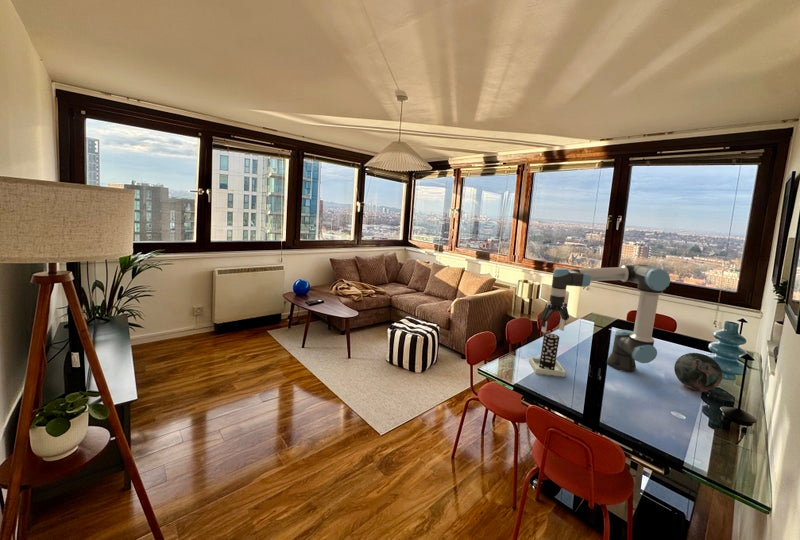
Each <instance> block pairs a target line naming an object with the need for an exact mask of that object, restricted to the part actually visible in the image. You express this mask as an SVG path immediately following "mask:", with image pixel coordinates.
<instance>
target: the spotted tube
mask: <svg viewBox="0 0 800 540" xmlns="http://www.w3.org/2000/svg"><path fill="white" fill-rule="evenodd" d="M559 343H560V336H559V335H558V334H554V333H551V332H550V333H549V332H546V333H544V334H543V338H542V344H541V350H540V351H541V352H540V357H539V358H540V364H539V367H540V368H541V369H549V370H554V369H555V363H556V360H557V355H558V349H559Z"/></svg>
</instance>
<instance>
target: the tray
mask: <svg viewBox="0 0 800 540" xmlns="http://www.w3.org/2000/svg"><path fill="white" fill-rule="evenodd" d="M528 362H529V365H530V366H531V368H532V369H533V371H534V373H535V374H536V375H543V374H546V375H545V376H551V375H554V376H553V377H559V376H562V378H566V373H567V372H566V370H565V369H564V368H563V366H562V365H561V363H560V362H559V360H557V359H556V363H555V369H554V370H549V369H541V368H540V367H539V364H540V357H532V356H529V359H528Z"/></svg>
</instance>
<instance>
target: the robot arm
mask: <svg viewBox="0 0 800 540" xmlns="http://www.w3.org/2000/svg"><path fill="white" fill-rule="evenodd" d="M596 281H597V282H601V281H602V282H603V281H604V282H605V281H621V282H624V283H625V282H627V283H629V282H630V283H634V284H637V289H636V290H637V291H638V293H639V297H638V303H637V308H636V310H637V311H636V315H635V321H634V322H635V323H634V326H633V327H634V328H633V330H628V329H617V330H616V331H615V334H614V339H613V345H612V351H611V353H610V354H609V356H608V357H607V359H606V365H608V366H609V367H611V368H612V369H615V370H617V371H622V372H626V373H632V372H636V370H637V369H636V368H637V366H636V362H638V363H639V364H640V363H641V364H648V363H651V362H652V361H654V360H655V359H656V358H657V355H658V351H657V349H656V347H655V346H654V344H655V339H654V338H653V330H654V324H655V321H656V320H655V319H656V314H657V308H658V302H659V296H660V295H662V294H663V293H664V290H666V289H667V288H668V287H669V286H670V283H671V277H670V274H669V273H668V272H667V271H666V270H665V269H662V268H660V267H656V266H651V265H648V264H643V263H642V264H628V265H626V264H624V265H621V266H620V267H618V266H617V267H593V268H592V267H591V268H590V267H589V268H588V267H587V268H570V267H555V268H554V269H553V273H552V282H551V290H550V296H549V301H550V304H549V303H545V305H544V309H543V310H542V312H541V314H540V317H539V318H538V319H539V320H540V321H541V332H542V333H544V334H545V333H547V327H548V319H549V318H550V317H552V314H554V313H555V312H558V314H559V316H560V317H561V318H560V320H559V326H558V327H559V328H558V330H560V331H562V332H564V331H565V325H566V322H567V321H568V320H569V319H570V315H569V311H568V303H566V302H565V300H566V299H565V298H566V297H565V296H566V293H567V286H568V287H569V286H570V287H579V288H580V287H581V288H585V287H586V288H587V287H589V286H590V285H591V282H596Z"/></svg>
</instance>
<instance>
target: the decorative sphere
mask: <svg viewBox="0 0 800 540" xmlns="http://www.w3.org/2000/svg"><path fill="white" fill-rule="evenodd" d="M673 369H674V373H675V376H676V378H677V379H678V381H679V382H680V383H681V384H682V385H683V386H685V387H687V388H688V389H691V390H695V391H697V392H698V391H699V392H703V391H704V392H705V391H706V392H707V391H710V390H711V391H712V390H713V389H716V388H717V387H718V386H719V385H721V382H722V381H723V371H722V368H721V366H720V365H719V363H718V362H717V361H716V360H715V359H713V357H710V356H709V355H707V354H705V353H704V354H703V353H701V352H700V353H699V352H688V353H685V354H682V355H681V356H680V357H678V358H677V359H676V361H675V363H674V368H673Z"/></svg>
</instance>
